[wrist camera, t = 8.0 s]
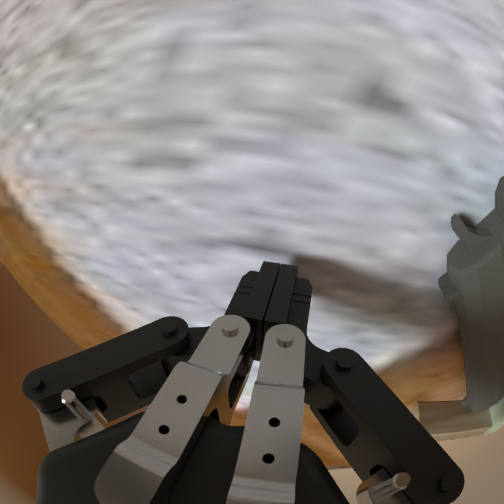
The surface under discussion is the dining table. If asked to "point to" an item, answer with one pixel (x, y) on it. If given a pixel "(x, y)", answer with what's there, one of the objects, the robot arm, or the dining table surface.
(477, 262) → the handgun
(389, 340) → the dining table surface
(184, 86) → the dining table surface
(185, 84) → the dining table surface
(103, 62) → the dining table surface
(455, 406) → the bay
